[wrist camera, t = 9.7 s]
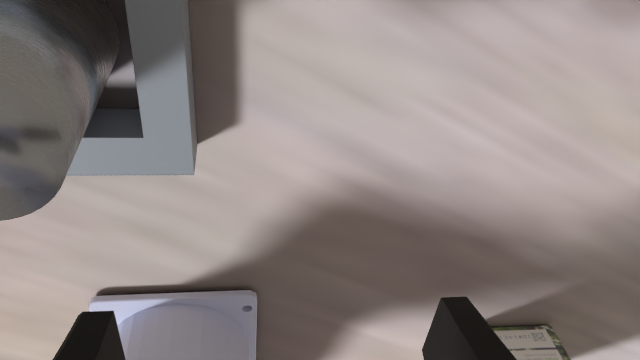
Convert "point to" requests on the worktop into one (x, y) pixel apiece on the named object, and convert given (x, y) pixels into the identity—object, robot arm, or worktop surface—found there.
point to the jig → (148, 102)
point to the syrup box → (532, 342)
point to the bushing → (48, 92)
